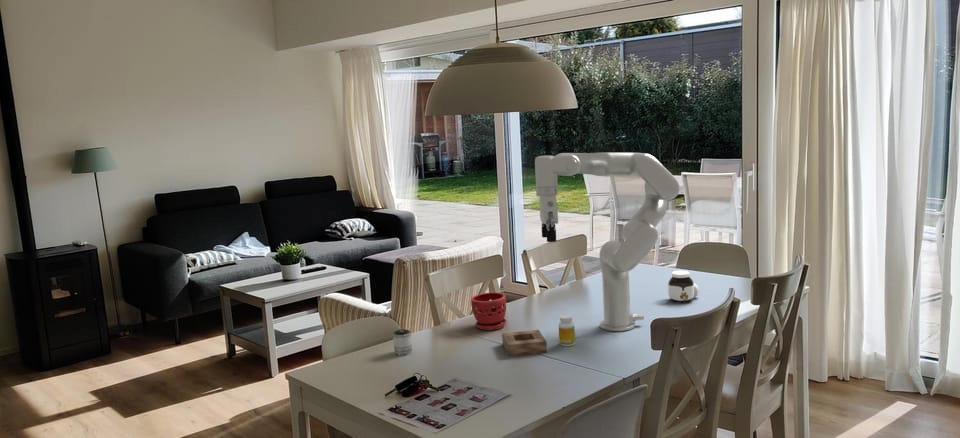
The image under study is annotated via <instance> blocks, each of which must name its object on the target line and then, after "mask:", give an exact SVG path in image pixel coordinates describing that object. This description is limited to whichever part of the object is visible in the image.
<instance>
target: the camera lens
mask: <svg viewBox="0 0 960 438" xmlns="http://www.w3.org/2000/svg"><path fill="white" fill-rule="evenodd" d="M392 338H393V339H392V340H393V349H394V353H395V355H396V354H400V355H399V356H405V355H404V354H408V355H410V354H412V353H413V339H412V332H411V331H410V330H409V329H405V328H404V329H403V328H401V329H397V330H396V331H394V332H393V333H392ZM411 352H412V353H411ZM409 353H410V354H409Z"/></svg>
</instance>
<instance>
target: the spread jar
mask: <svg viewBox="0 0 960 438" xmlns="http://www.w3.org/2000/svg"><path fill="white" fill-rule="evenodd" d="M668 280H669V281H668V284H667V289H668V290H667V291H668V292H667V294H668V297H669V299H670V300H671V301H672V302H673V301H674V302H673V303H676V302H681V303H680V304H684V303H683V302H687V303H689V301H690V302H691V301H692V300H693V299H694V298H696V297H698V296H699V294H700V288H699V286H698V285H697V283H695V282H694V280H693V279H692V278H691V277H690V271H687V270H674V271H672V272H671V277H670V279H668Z"/></svg>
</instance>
